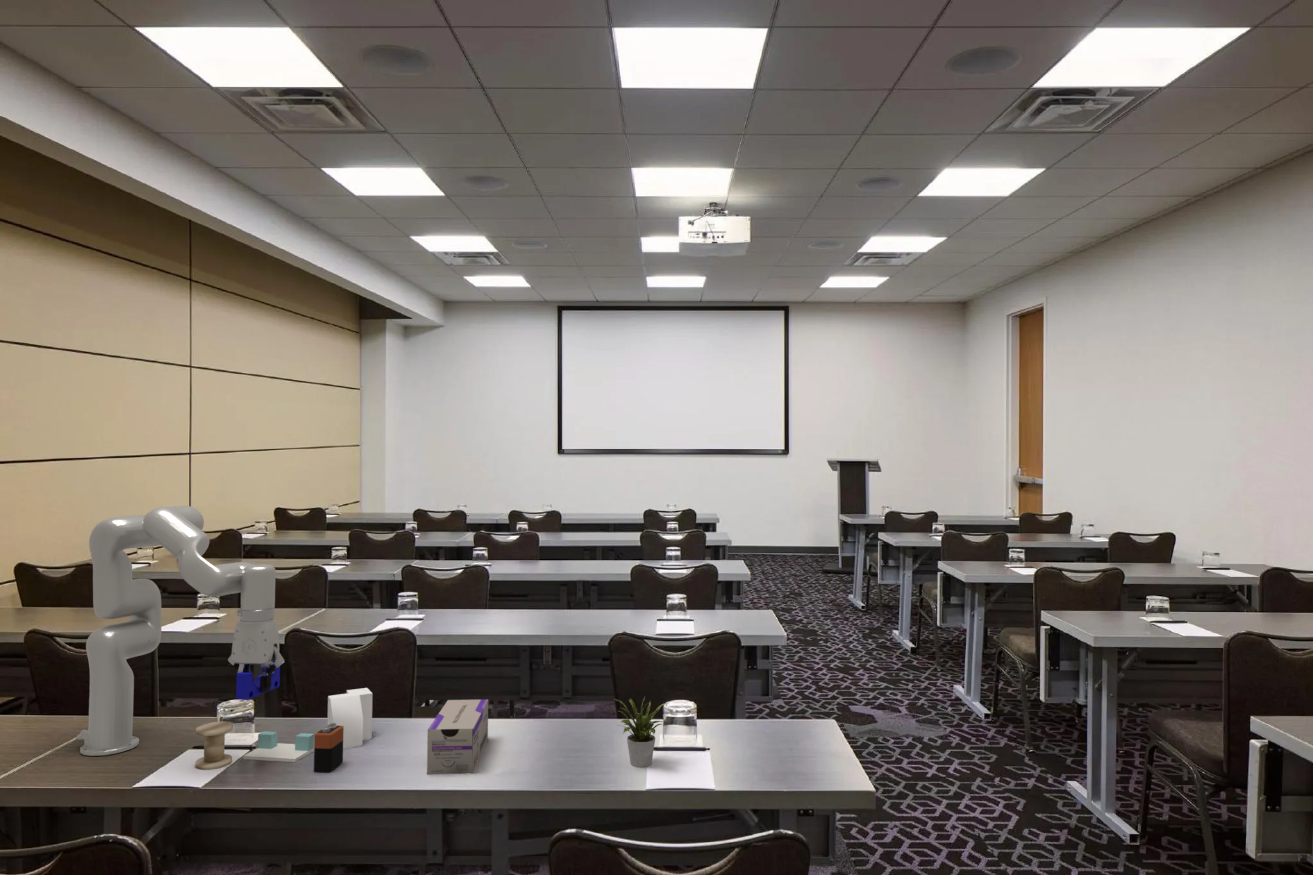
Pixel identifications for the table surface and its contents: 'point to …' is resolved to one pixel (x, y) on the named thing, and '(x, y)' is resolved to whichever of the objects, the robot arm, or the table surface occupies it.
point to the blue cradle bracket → (254, 684)
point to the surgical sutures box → (457, 737)
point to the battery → (328, 748)
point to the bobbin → (214, 745)
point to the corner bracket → (352, 715)
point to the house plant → (640, 735)
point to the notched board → (281, 748)
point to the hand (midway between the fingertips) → (255, 689)
